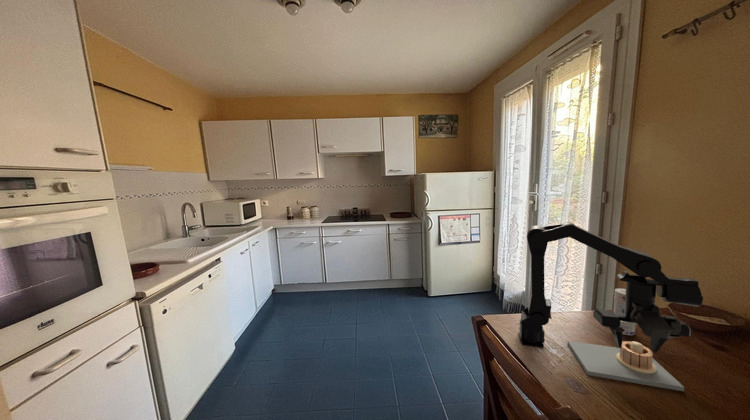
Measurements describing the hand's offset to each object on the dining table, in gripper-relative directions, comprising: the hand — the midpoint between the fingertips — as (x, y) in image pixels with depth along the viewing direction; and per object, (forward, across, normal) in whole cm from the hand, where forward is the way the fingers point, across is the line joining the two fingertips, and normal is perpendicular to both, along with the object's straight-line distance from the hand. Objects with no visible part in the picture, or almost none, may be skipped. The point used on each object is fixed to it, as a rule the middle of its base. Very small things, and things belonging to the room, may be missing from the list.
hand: (636, 349), depth 71 cm
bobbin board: (+6, -4, 0) cm, 7 cm away
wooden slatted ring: (+4, 0, 0) cm, 4 cm away
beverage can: (+6, +7, +20) cm, 22 cm away
